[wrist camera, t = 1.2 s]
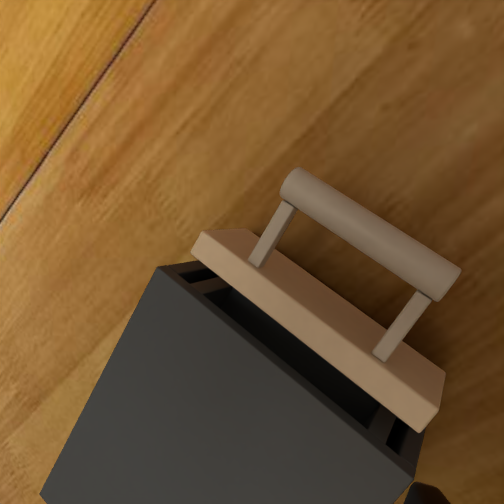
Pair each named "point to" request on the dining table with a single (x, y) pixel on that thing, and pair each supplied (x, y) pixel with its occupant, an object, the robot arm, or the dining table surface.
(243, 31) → the dining table surface
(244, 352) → the dark grey rectangular box
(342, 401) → the drawer
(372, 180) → the dining table surface
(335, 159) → the dining table surface
